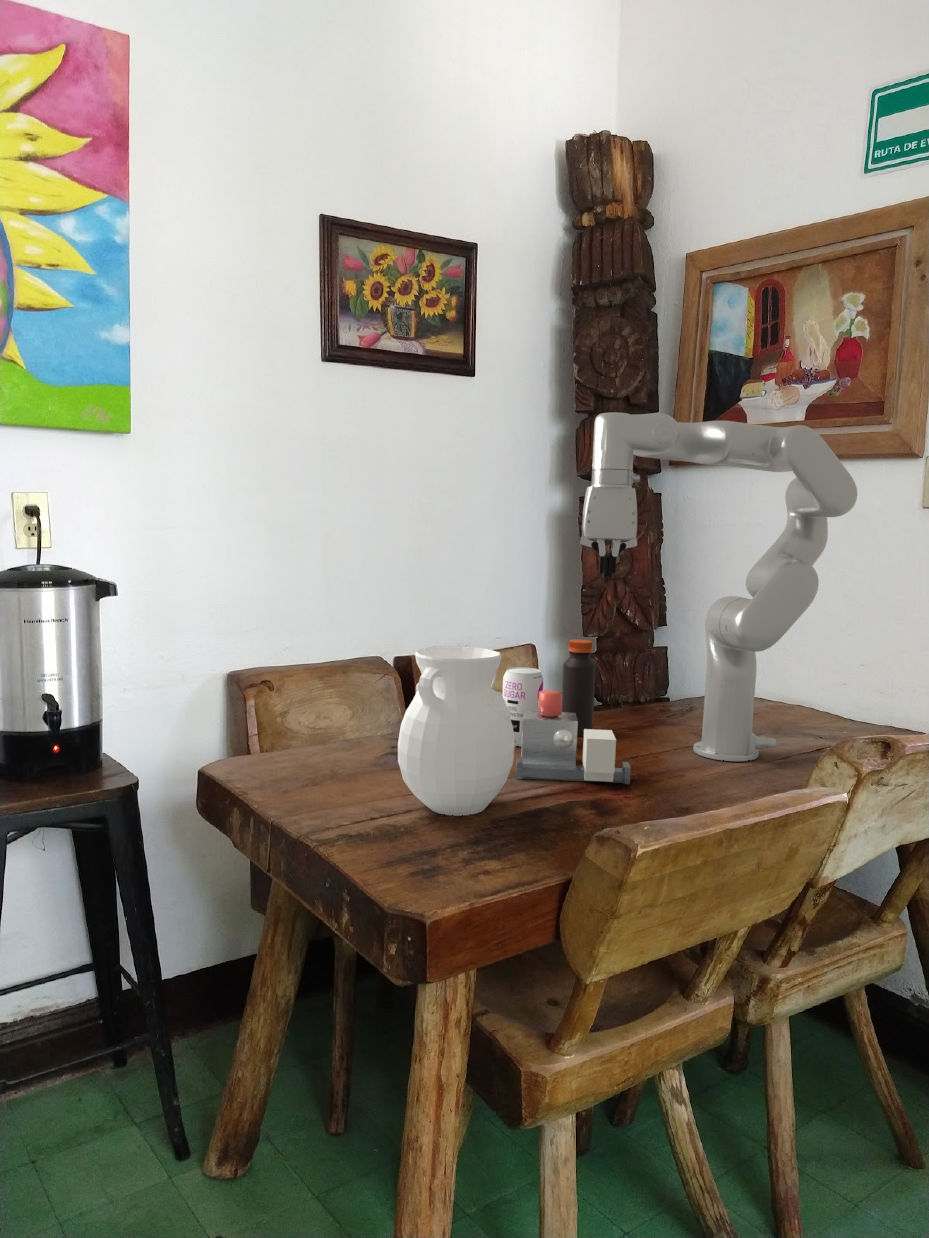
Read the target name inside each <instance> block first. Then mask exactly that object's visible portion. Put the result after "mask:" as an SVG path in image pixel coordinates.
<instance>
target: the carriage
mask: <svg viewBox="0 0 929 1238" xmlns="http://www.w3.org/2000/svg"><path fill="white" fill-rule="evenodd" d="M582 745H583V746H582V766H584V769H585V773H584V780H586V781H585V782H591V781H608V782H607V783H613V775H614V771H615V768H616V766H615V765H616V750H617V749H616V748H617V746H616V745H617V738H616V736H615V734H614V733H613V730H612V729H594V728H592V729H584V736H583V744H582Z"/></svg>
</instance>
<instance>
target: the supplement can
mask: <svg viewBox="0 0 929 1238" xmlns="http://www.w3.org/2000/svg"><path fill="white" fill-rule="evenodd" d="M543 690H544V676H543V674H542V673H541V670H540V669H538V668H532V667H521V666H517V667H515V666H514V667H508V668H507V669H506V671H505V673H504V675H503V678H502V696H503V699H504V700H505V703H506V706H507V707H508V709H509V710H510V715H511V716H510V719H511V722H512V726H513V733H514V743H515V747H517V746H519V747H520V748H522V723H523V711H538V705H539V691H543ZM519 747H518V748H519Z"/></svg>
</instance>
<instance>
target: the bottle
mask: <svg viewBox="0 0 929 1238" xmlns="http://www.w3.org/2000/svg"><path fill="white" fill-rule="evenodd" d="M568 653H569V657H568V658H567V659H566V661H564V663H563V669H562V671H563V672H562V673H563V674H562V688H561V689H562V690H561V692H562V693H563V694H562V712H568V713H575V714H576V717H577V721H578V726H577V737H584V729H593V726H594V724H593V723H594V721H593V720H594V706H595V704H594V701H595V684H596V664H595V663H594V662H593V660H592V659H591V655H592V653H593V641H592V640H589V639H569V640H568Z"/></svg>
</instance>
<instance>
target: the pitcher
mask: <svg viewBox="0 0 929 1238" xmlns="http://www.w3.org/2000/svg"><path fill="white" fill-rule="evenodd" d="M414 656H415V661H416V665H417V666H418V668H419V671H420V674H421V675H420V677H419V680H418V682H417V684H416V686H415V695H414V696H413V699H412V700H411V702H410V704H409V706H408V707H407V708H406V710H405V713H404V716H403V719H402V721H401V723H400V729H399V735H398V741H397V763H398V765H399V770H400V773H401V775H402V780H403V782H404V783H405V785H406V786H407V787H408V789H409V790H410V791H411V793H412V794H413V795H414V796H415V797H416V798H417V799H418V800H419V801H420V802H422V804H424V805H425V806H426V807H427V808H428V809H429V810H431V811H432V812H434V813H437V814H440V815H444V814H445V815H446V816H452V815H453V816H455V817H460V816H462V815H463V816H471V815H476V814H478V813H481V812H483V811H484V810H485V809H486V808H487V807H488V806H489V805H490V804H491V802H492V801H494V799H495V798H496V797H498V794H499V793H500V791H501V789H502V788H503V787H504V785H505V784H506V782H507V780H508V778H509V774H510V772H511V770H512V767H513V764H514V757H515V756H514V755H515V747H516V746H515V743H514V733H513V726H512V722H511V719H510V716H511V715H510V710H509V709H508V707H507V706H506V703H505V700H504V699H503V696H502V695H503V693H502V692H501V691H496V690H495V689H494V685H495V683H496V680H497V672H498V670H499V667H500V664H501V661H502V655H501V652H499V651H495V650H493V649H489V648H484V647H474V646H466V645H465V646H463V645H462V646H461V645H455V646H454V645H449V646H448V645H447V646H446V645H443V646H442V645H439V646H437V645H436V646H428V647H423V648H420V649H417V650H416V652H414ZM470 814H471V815H470ZM445 815H444V816H445Z"/></svg>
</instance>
